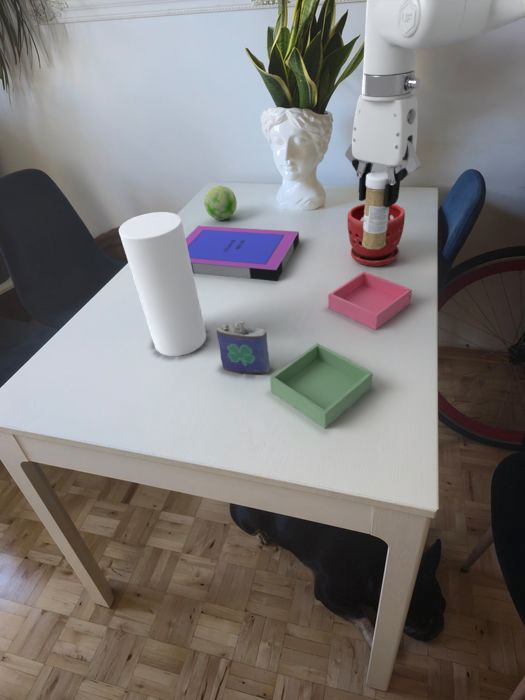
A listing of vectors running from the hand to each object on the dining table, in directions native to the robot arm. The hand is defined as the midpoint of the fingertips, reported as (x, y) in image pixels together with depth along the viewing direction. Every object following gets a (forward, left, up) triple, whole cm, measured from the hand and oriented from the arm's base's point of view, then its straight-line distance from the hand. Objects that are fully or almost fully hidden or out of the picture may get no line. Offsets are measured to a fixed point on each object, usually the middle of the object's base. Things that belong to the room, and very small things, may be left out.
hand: (377, 200), depth 79 cm
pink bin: (0, 0, -23) cm, 23 cm away
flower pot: (+12, -18, -23) cm, 32 cm away
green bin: (-9, +26, -23) cm, 36 cm away
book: (+41, +3, -23) cm, 47 cm away
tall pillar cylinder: (+22, +34, -23) cm, 47 cm away
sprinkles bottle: (0, 0, -9) cm, 9 cm away
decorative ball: (+63, -11, -23) cm, 68 cm away
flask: (+5, +31, -23) cm, 39 cm away
